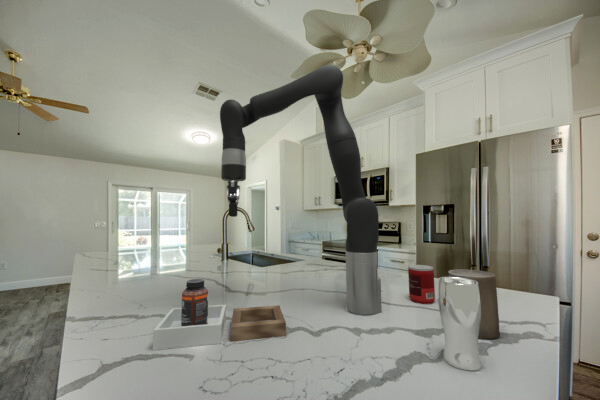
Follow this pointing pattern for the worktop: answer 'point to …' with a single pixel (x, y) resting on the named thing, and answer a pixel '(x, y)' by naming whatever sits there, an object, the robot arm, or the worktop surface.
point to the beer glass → (460, 321)
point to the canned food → (421, 284)
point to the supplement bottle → (194, 303)
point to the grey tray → (189, 330)
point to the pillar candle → (484, 300)
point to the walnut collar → (257, 323)
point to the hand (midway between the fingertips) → (233, 216)
